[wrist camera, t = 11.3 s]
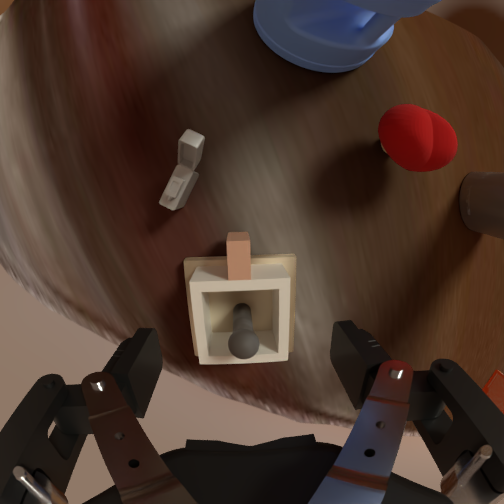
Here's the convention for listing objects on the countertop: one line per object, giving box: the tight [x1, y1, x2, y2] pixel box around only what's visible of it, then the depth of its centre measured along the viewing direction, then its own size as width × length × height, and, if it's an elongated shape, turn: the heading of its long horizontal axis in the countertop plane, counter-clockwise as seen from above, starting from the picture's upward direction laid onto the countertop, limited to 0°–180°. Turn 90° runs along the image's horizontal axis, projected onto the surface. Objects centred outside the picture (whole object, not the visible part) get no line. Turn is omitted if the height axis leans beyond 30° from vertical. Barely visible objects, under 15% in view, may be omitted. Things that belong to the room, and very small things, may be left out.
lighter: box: [159, 129, 205, 210], centre depth 24 cm, size 7×2×8 cm, turn 152°
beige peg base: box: [184, 254, 296, 359], centre depth 27 cm, size 12×12×10 cm
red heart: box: [378, 104, 458, 172], centre depth 23 cm, size 9×7×10 cm
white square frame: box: [189, 232, 290, 364], centre depth 27 cm, size 9×12×5 cm
